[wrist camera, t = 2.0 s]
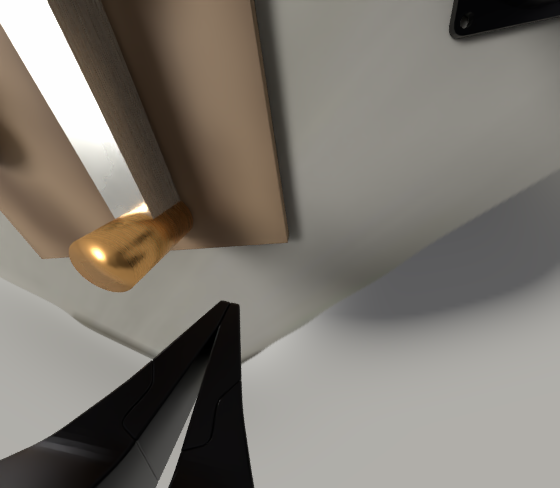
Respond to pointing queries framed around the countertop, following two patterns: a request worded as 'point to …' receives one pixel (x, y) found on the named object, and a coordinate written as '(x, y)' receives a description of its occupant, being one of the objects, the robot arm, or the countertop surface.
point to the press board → (156, 129)
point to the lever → (101, 135)
